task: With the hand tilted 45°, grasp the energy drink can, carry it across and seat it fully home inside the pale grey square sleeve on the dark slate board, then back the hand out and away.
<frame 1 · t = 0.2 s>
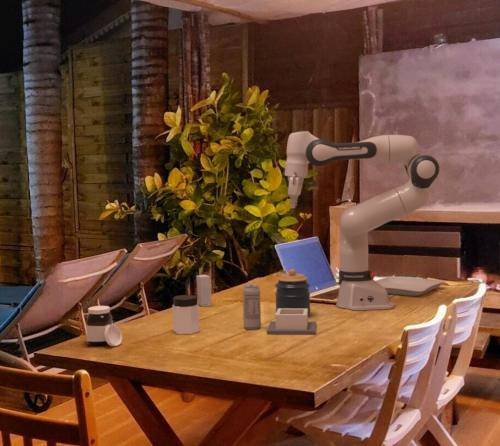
hand: (293, 207, 279), 39 cm above the table, tool pointing down, fingers open, 8 cm apart
jar: (186, 332, 243), on the table
energy drink can: (252, 328, 247), on the table
canister: (293, 316, 264), on the table
sleeve mount: (292, 329, 243), on the table
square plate: (403, 291, 310), on the table
skincare box: (204, 305, 287), on the table
spread jar: (105, 344, 230), on the table
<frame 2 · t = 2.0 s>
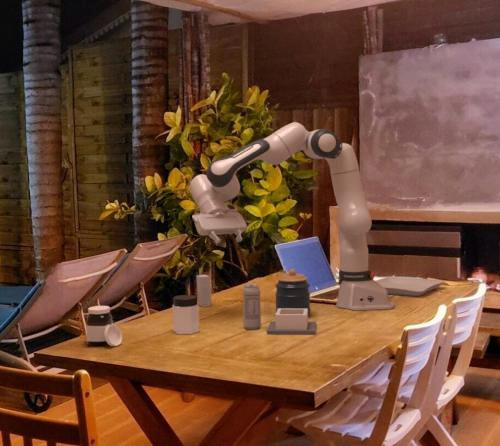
hand: (229, 241, 255), 29 cm above the table, tool tilted 45°, fingers open, 8 cm apart
nothing on the table moved.
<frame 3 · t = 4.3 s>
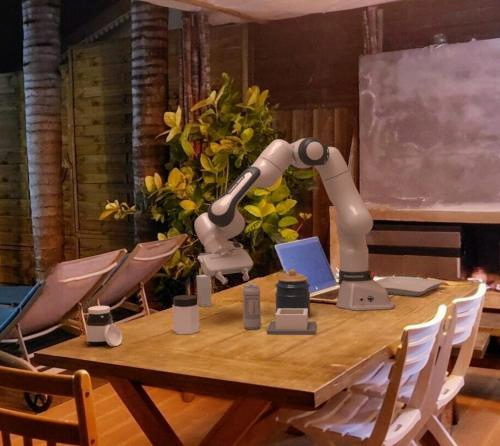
hand: (236, 281, 252), 15 cm above the table, tool tilted 45°, fingers open, 8 cm apart
nothing on the table moved.
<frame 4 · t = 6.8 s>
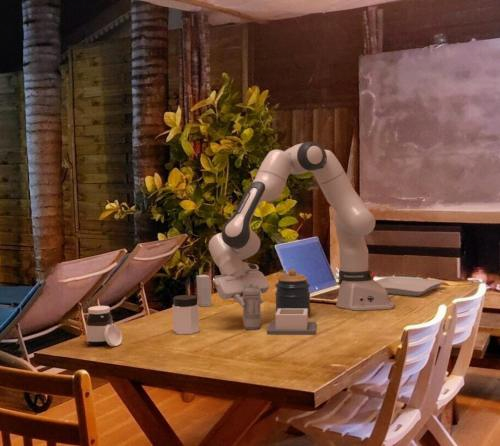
hand: (252, 304, 245), 8 cm above the table, tool tilted 45°, fingers closed on energy drink can, 6 cm apart
energy drink can: (252, 328, 247), on the table, touching gripper
everything else where it was.
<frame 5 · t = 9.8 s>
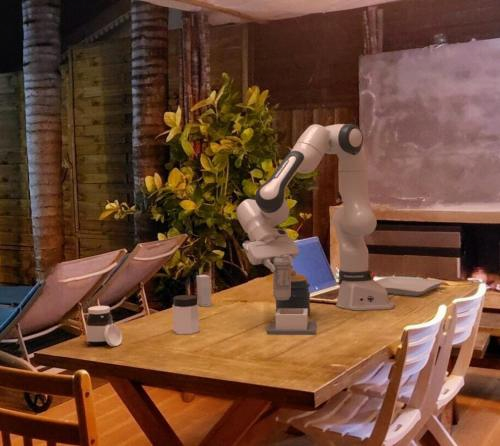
hand: (283, 269, 242), 21 cm above the table, tool tilted 45°, fingers closed on energy drink can, 6 cm apart
energy drink can: (282, 299, 244), point 10 cm above the table, touching gripper
everything else where it was.
when the fingers open (11 cm above the table, at t = 13.2 s): energy drink can stays where it is, resting on sleeve mount.
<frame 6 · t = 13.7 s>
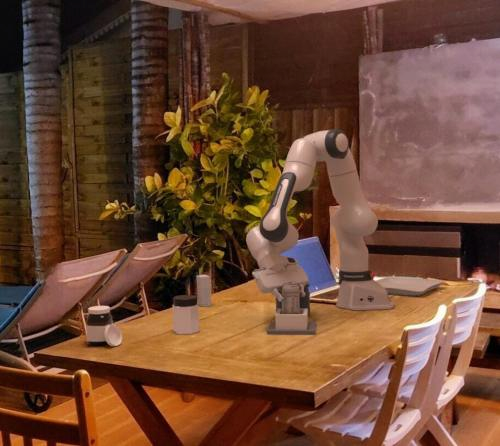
hand: (292, 298, 242), 11 cm above the table, tool tilted 45°, fingers open, 8 cm apart
energy drink can: (290, 326, 243), point 1 cm above the table, touching sleeve mount
everything else where it was.
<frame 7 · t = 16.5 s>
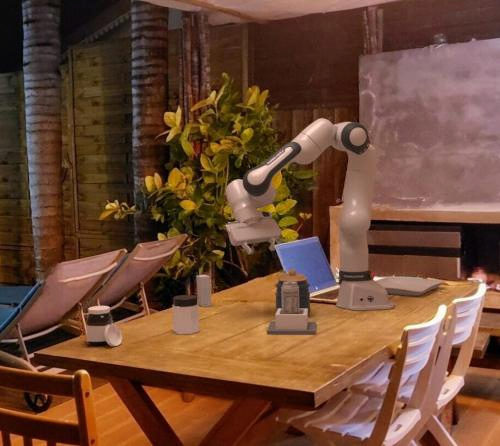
hand: (262, 251, 256), 25 cm above the table, tool tilted 35°, fingers open, 8 cm apart
nothing on the table moved.
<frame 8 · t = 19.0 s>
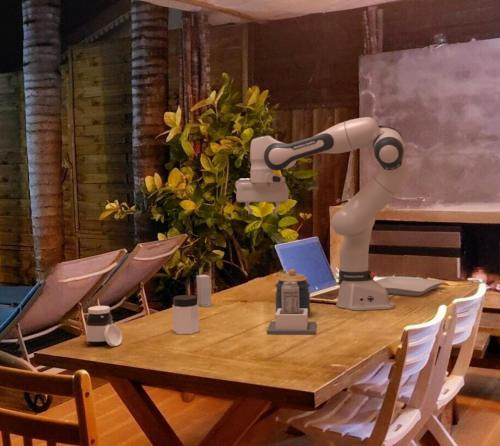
hand: (262, 213, 276), 37 cm above the table, tool pointing down, fingers open, 8 cm apart
nothing on the table moved.
at the end: energy drink can 0.5 cm off-centre on the sleeve mount, point 1.0 cm above the sleeve mount's base; energy drink can tilted 0°; the gripper is holding nothing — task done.
